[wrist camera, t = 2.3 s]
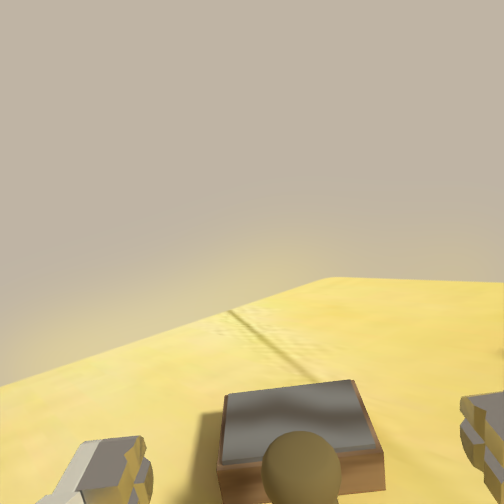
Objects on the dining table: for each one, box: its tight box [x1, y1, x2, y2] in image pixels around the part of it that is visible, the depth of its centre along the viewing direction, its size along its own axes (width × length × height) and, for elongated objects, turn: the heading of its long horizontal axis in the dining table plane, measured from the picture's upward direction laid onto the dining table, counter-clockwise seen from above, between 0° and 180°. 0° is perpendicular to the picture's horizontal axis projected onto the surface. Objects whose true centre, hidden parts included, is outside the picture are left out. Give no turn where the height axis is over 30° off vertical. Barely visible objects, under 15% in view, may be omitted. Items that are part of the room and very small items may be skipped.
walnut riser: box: [217, 379, 386, 504], centre depth 38 cm, size 10×14×4 cm
